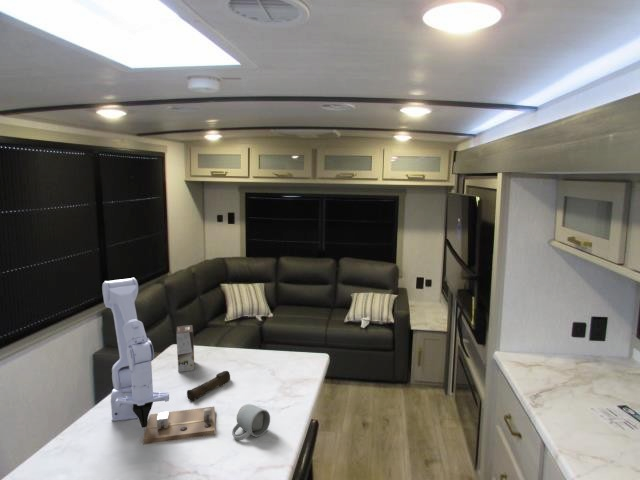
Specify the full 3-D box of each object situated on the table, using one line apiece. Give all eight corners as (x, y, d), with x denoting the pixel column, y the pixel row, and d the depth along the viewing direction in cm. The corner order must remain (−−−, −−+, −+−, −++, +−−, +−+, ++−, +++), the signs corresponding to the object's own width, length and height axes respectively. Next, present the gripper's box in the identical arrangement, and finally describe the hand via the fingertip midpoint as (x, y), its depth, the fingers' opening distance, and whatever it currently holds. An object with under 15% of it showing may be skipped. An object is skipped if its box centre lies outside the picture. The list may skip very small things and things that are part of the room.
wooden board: (143, 444, 123) (142, 428, 123) (149, 418, 137) (149, 404, 136) (214, 434, 128) (214, 419, 128) (214, 410, 142) (214, 396, 141)
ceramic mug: (253, 420, 136) (252, 397, 135) (271, 430, 131) (270, 406, 130) (226, 435, 128) (225, 411, 127) (243, 446, 123) (242, 421, 122)
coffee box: (194, 370, 172) (193, 331, 170) (178, 372, 170) (176, 333, 168) (194, 361, 181) (192, 324, 179) (178, 363, 179) (176, 326, 177)
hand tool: (193, 403, 147) (193, 390, 146) (186, 399, 149) (185, 387, 149) (235, 382, 162) (234, 371, 162) (227, 379, 165) (227, 368, 164)
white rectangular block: (157, 430, 127) (156, 421, 127) (159, 421, 132) (158, 412, 131) (167, 429, 128) (167, 419, 127) (169, 420, 132) (168, 411, 132)
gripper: (112, 391, 121) (115, 436, 123) (166, 385, 125) (168, 429, 127) (117, 380, 128) (120, 423, 130) (168, 375, 132) (171, 417, 133)
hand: (144, 425), depth 129 cm, fingers closed
